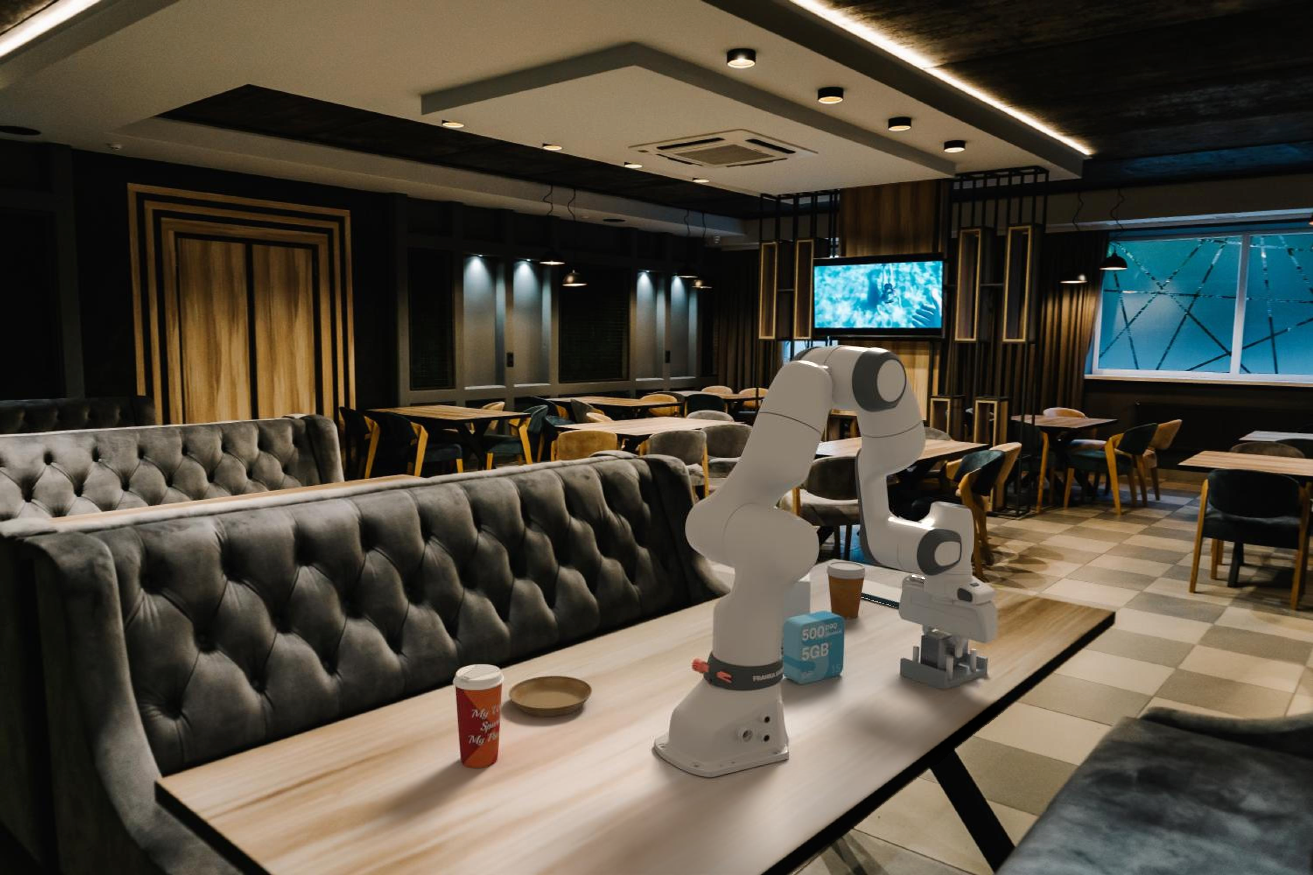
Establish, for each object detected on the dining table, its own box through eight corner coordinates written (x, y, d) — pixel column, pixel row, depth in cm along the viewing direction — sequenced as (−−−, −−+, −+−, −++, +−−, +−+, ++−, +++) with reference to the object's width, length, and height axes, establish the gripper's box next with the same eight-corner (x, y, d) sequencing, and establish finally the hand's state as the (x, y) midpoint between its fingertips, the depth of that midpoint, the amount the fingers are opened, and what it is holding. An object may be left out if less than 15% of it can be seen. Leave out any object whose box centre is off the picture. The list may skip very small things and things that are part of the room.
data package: (797, 686, 167) (799, 624, 166) (781, 678, 171) (783, 618, 169) (843, 674, 173) (845, 615, 172) (827, 667, 177) (829, 609, 176)
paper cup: (480, 776, 130) (479, 685, 129) (443, 762, 134) (442, 674, 133) (515, 755, 137) (515, 668, 135) (479, 743, 141) (478, 659, 139)
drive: (937, 671, 169) (939, 640, 169) (919, 665, 172) (921, 634, 172) (967, 660, 175) (968, 630, 175) (949, 655, 178) (951, 625, 178)
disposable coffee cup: (868, 620, 208) (870, 570, 207) (828, 619, 208) (830, 570, 207) (860, 608, 217) (861, 561, 216) (821, 607, 217) (823, 560, 216)
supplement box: (809, 636, 196) (811, 570, 194) (809, 650, 187) (811, 581, 185) (768, 633, 197) (769, 568, 196) (766, 647, 188) (767, 578, 187)
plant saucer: (546, 729, 147) (546, 714, 147) (491, 705, 157) (491, 690, 157) (609, 704, 158) (609, 690, 158) (554, 682, 168) (554, 669, 167)
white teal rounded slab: (832, 592, 233) (832, 584, 233) (859, 585, 241) (859, 577, 241) (909, 613, 215) (909, 605, 215) (935, 605, 223) (936, 597, 223)
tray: (944, 690, 166) (945, 663, 165) (899, 674, 174) (900, 648, 173) (987, 673, 175) (988, 647, 174) (943, 658, 182) (944, 634, 182)
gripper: (893, 574, 178) (890, 641, 180) (985, 598, 162) (981, 670, 164) (912, 570, 182) (909, 635, 184) (1004, 592, 166) (999, 663, 168)
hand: (944, 652), depth 174 cm, fingers closed on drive, 4 cm apart
